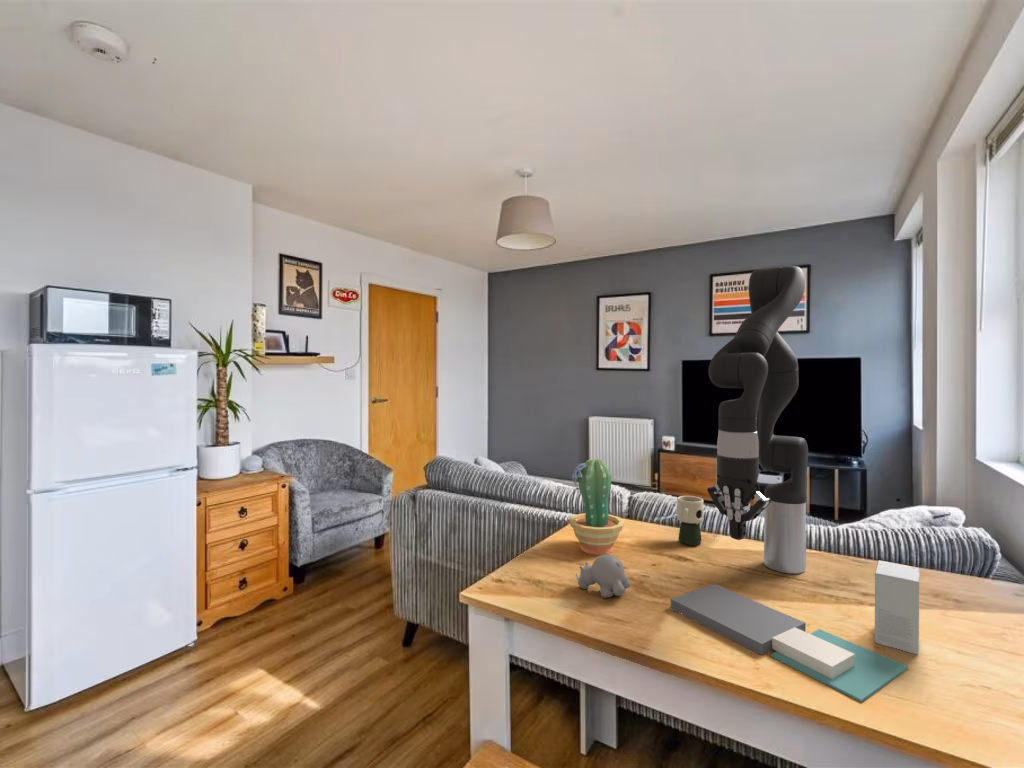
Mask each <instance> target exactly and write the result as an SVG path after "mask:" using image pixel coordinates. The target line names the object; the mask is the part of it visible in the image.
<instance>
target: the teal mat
mask: <svg viewBox="0 0 1024 768" xmlns="http://www.w3.org/2000/svg"><path fill="white" fill-rule="evenodd" d="M810 634H811V635H813V636H816V637H818V638H820V639H822V640H825V641H827V642H829V643H831V644H834V645H836V646H838V647H840V648H843V649H845V650H847V651H849V652H852V653H854V654H855V666H853V667H852V668H850V669H848V670H847V671H845V672H843V673H842V674H840V675H838V676H837V677H835V678H833V679H831V678H829V677H827V676H825V675H823V674H821V673H819V672H817V671H815V670H813V669H811V668H809V667H807V666H805V665H803V664H801V663H799V662H797V661H795V660H794V659H792V658H790V657H788V656H786V655H784V654H782V653H780V652H778V651H776V650H775V651H774V652H773V653H770V657H772V658H773V659H775V660H777V661H779V662H781V663H783V664H786V665H787V666H789V667H791V668H793V669H795V670H797V671H798V672H800V673H803V674H804V675H807V676H809V677H811V678H813V679H815V680H817V681H819V682H821V683H823V684H825V685H826V686H829V687H831V688H832V689H834V690H836V691H838V692H840V693H842V694H844V695H846V696H848V697H850V698H851V699H854V700H856V701H858V702H860V703H863V702H864V701H866V700H867V699H868V698H870V697H871V696H873V695H874V694H875V693H876V692H878V691H880V690H881V689H882V688H884V687H885V686H887V684H889V683H890V682H892V681H893V680H895V679H896V678H898V677H899V676H900V675H901V674H903V673H904V672H906V671H907V670H908V669H909V666H908V665H906V664H904V663H902V662H898V661H896V660H893V659H891V658H889V657H887V656H884V655H882V654H879V653H877V652H875V651H872V650H870V649H868V648H865V647H863V646H861V645H859V644H856V643H854V642H851V641H849V640H846V639H844V638H842V637H840V636H838V635H835V634H832V633H830V632H828V631H825V630H822V629H820V628H819V629H816V630H814V631H813V632H811V633H810Z"/></svg>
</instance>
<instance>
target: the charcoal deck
mask: <svg viewBox="0 0 1024 768" xmlns="http://www.w3.org/2000/svg"><path fill="white" fill-rule="evenodd" d="M671 608H672V609H671ZM670 609H671V610H673V609H674V610H673V611H675V610H676V611H675V612H677V613H679V612H680V613H679V614H681V613H682V614H683V616H684V615H685V617H686V616H687V617H686V618H688V617H689V618H688V619H690V620H692V621H694V622H696V623H698V624H701V625H702V626H704V627H706V628H708V629H710V630H712V631H714V632H716V633H718V634H719V635H722V636H723V637H725V638H728V639H730V640H731V641H733V642H736V643H737V644H739V645H741V646H744V647H745V648H746V649H749V650H750V651H752V652H755V653H756V654H758V655H761V656H763V655H766V654H768V653H770V652H771V651H773V650H774V649H772V637H775V636H777V635H779V634H781V633H783V632H785V631H788V630H790V629H792V628H794V627H795V628H798V629H800V630H802V631H804V632H807V631H806V629H807V628H806V625H807V624H806V622H805V621H803V620H800V619H798V618H795V617H793V616H791V615H790V614H789V615H788V614H786V613H783V612H782V611H779V610H776V609H775V608H771V607H769V606H768V605H765V604H762V603H759V602H757V601H755V600H752V599H750V598H748V597H746V596H743V595H740V594H738V593H736V592H734V591H732V590H730V589H727V588H724V587H723V586H722V587H721V586H720V585H717V584H715V583H712V584H709V585H707V586H704V587H701V588H698V589H696V590H692V591H690V592H687V593H684V594H681V595H679V596H676V597H673V598H670ZM682 614H681V615H682Z"/></svg>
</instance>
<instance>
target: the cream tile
mask: <svg viewBox="0 0 1024 768" xmlns="http://www.w3.org/2000/svg"><path fill="white" fill-rule="evenodd" d="M772 649H773V650H774V651H775V652H776V651H778V652H780V653H782V654H784V655H786V656H788V657H790V658H792V659H794V660H795V661H797V662H799V663H801V664H803V665H805V666H807V667H809V668H811V669H813V670H815V671H817V672H819V673H821V674H823V675H825V676H827V677H829V678H831V679H833V678H835V677H837V676H838V675H840V674H842V673H843V672H845V671H847V670H848V669H850V668H852V667H853V666H855V654H854V653H852V652H849V651H847V650H845V649H843V648H840V647H838V646H836V645H834V644H831V643H829V642H827V641H825V640H822V639H820V638H818V637H816V636H813V635H811V633H809V632H807V631H806V632H804V631H802V630H800V629H798V628H795V627H794V628H792V629H790V630H788V631H785V632H783V633H781V634H779V635H777V636H775V637H772Z"/></svg>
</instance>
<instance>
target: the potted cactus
mask: <svg viewBox="0 0 1024 768" xmlns="http://www.w3.org/2000/svg"><path fill="white" fill-rule="evenodd" d="M571 478H572V479H571V480H572V482H573V483H574V486H578V490H579V492H580V495H581V497H582V502H583V507H584V508H583V509H584V513H579V514H575V515H571V517H570V518H569V519H568V522H569V526H570V527H571V528H572V529H573V532H574V535H575V538H576V539H577V540H578V542H579V543H580V550H581V551H582V552H584V553H587V554H591V555H599V556H601V555H604V554H610V553H612V552H613V550H614V548H613V546H614V544H615V543H616V542H617V540H618V538H619V535H620V532H622V530H623V529H624V525H625V520H624V519H622V518H621V517H620V516H616V515H612V514H610V513H609V497H610V493H611V490H612V473H611V470H610V468H608V466H607V465H606V463H605V462H604V461H603V459H600V460H599V458H596V459H592V458H589V459H587V460H586V461H585V462H584V463H579V464H578V465H577V466H576V467H575V469H574V471H573V473H572V476H571ZM577 481H578V482H577ZM577 483H578V485H577Z"/></svg>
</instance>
